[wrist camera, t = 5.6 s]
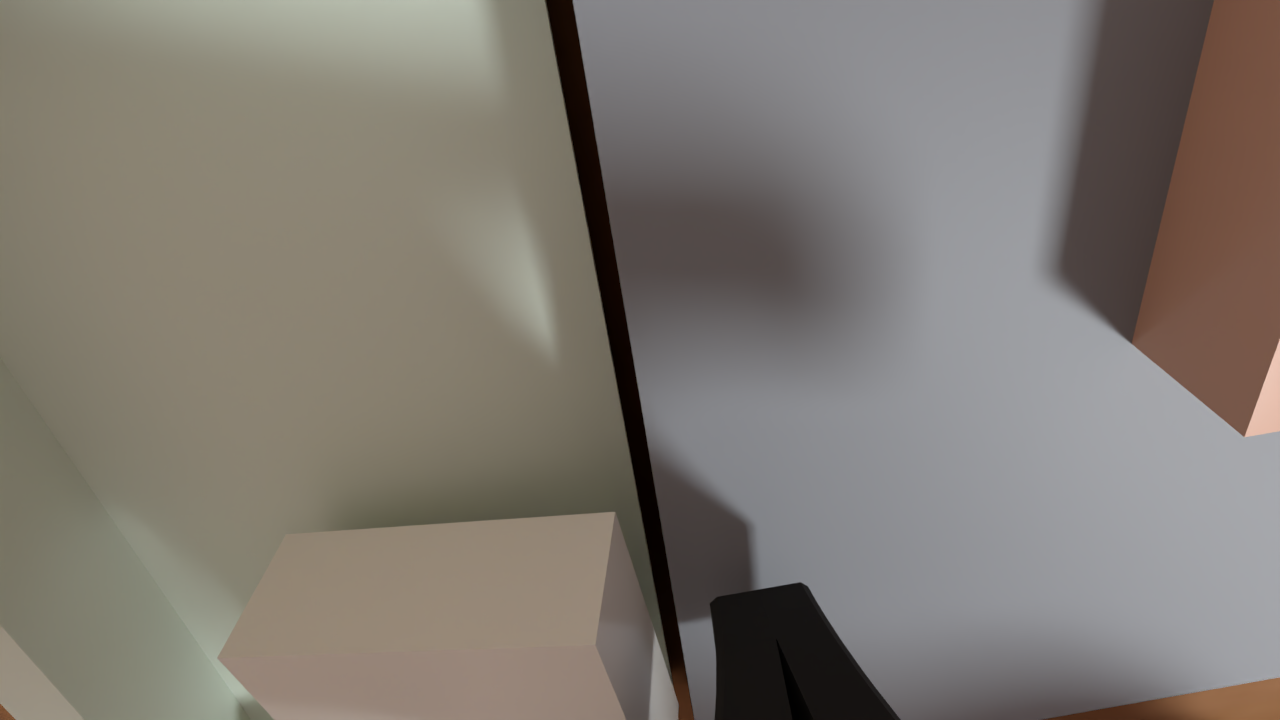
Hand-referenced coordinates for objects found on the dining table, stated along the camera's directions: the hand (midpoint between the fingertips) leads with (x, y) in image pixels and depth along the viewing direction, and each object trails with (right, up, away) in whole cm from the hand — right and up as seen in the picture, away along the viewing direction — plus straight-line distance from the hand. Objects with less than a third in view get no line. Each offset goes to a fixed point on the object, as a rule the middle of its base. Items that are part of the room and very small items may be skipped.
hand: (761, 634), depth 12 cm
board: (+5, +4, +1) cm, 6 cm away
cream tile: (-4, 0, +1) cm, 4 cm away
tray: (-6, +3, +1) cm, 7 cm away
